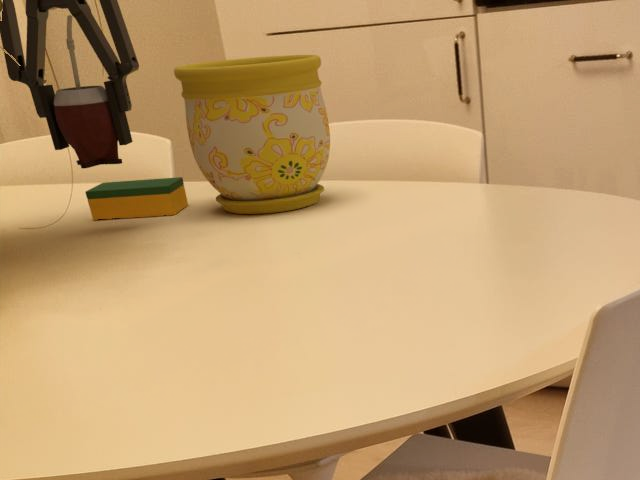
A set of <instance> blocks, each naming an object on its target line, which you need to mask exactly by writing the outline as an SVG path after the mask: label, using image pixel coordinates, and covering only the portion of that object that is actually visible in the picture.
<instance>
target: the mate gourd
mask: <svg viewBox="0 0 640 480" xmlns="http://www.w3.org/2000/svg"><path fill="white" fill-rule="evenodd" d="M65 42H66V48H67V50H68V51H69V52H68V53H69V57H70V58H69V59H70V64H71V69H72V74H73V79H74V86H75V87H67V88H60V89H57V90H56V91H55V97H54V103H53V104H54V113H55V118H56V121H57V124H58V127H59V129H60V131H61V133H62V134H63V136H64V138H65V139H66V141H67V142H68V143H69V147H71V148H72V149H73V150H74V152H75V154H76V157H77V159H78V160H77V159H76V164H77V166H80V168H81V169H90V168H93V167H97V166H101V165H122V164H123V158H119V141H118V137H117V133H116V129H115V125H114V121H113V117H112V113H111V109H110V106H109V102H108V98H107V94H106V90H105V86H103V85H87V86H86V85H85V86H81V81H80V75H79V70H78V64H77V58H76V53H75V50H76V47H75V40H74V39H73V16H72V15H71V14H68V15H67V17H66V39H65Z"/></svg>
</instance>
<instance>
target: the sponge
mask: <svg viewBox="0 0 640 480" xmlns="http://www.w3.org/2000/svg"><path fill="white" fill-rule="evenodd" d="M85 196H86V199H87V203H88V207H89V210H90V214H91V217H92V221H99V220H98V219H107V220H115V219H114V218H121V219H135V218H149V217H150V218H151V217H162V216H163V217H164V215H166V216H175V215H176V214H178V213H179V212H181V211H182V210H183V209H185V208H187V207H188V205H189V201H188V197H187V192H186V188H185V183H184V178H183V177H182V176H179V177H165V178H152V179H151V178H149V179H136V180H123V181H121V180H120V181H107V182H106V181H105V182H101V183H100V184H98V185H95V186H94V187H92V188H90V189H88V190H86V191H85ZM112 218H113V219H112Z"/></svg>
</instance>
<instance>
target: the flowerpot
mask: <svg viewBox="0 0 640 480" xmlns="http://www.w3.org/2000/svg"><path fill="white" fill-rule="evenodd" d="M321 65H322V59H321V57H320V56H319V55H318V54H317V55H316V54H290V55H289V54H287V55H286V54H285V55H271V56H258V57H257V56H255V57H245V58H234V59H224V60H223V59H222V60H214V61H213V60H212V61H206V62H197V63H190V64H184V65H178V66H176V67H174V69H173V75H174V77H175V78H176V79H177V80H178V81H180V83H181V88H182V92H181V94H180V95H181V97H182V98H183V101H184V109H185V121H186V128H187V135H188V141H189V145H190V148H191V151H192V154H193V158H194V161H195V163H196V165H197V166H198V168H199V170H200V172H201V174H202V175H203V177H204V178H205V179H206V181H207V182H208V183H209V185H211V186H212V188H214V189H215V190H216V191H217V192H218V193H219V194H218V195H217V196H216V197H215V201H216V203H219V204H221V205H222V207H223V209H224V210H225V211H226V212H228V213H232V214H238V215H260V214H261V215H263V214H273V213H282V212H289V211H294V210H299V209H303V208H307V207H310V206H312V205H314V204H316V203H318V201H319V200H320V196H321V193H323V192H324V191H325V186H324V185H323V184H320V183H319V182H320V181H321V179H322V178H323V175H324V174H325V172H326V168H327V165H328V163H329V159H330V151H331V132H330V124H329V117H328V113H327V109H326V105H325V101H324V97H323V94H322V89H321V86H322V80H320V78H319V72H318V70H319V68H321ZM306 206H307V207H306Z"/></svg>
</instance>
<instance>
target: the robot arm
mask: <svg viewBox="0 0 640 480" xmlns="http://www.w3.org/2000/svg"><path fill="white" fill-rule="evenodd" d="M98 1H99V4H100V7H101V10H102V12H103V16H104V18H105V21H106V24H107V27H108V30H109V33H110V36H111V38H112V41H113V44H114V47H115V50H116V52H115V51H114V49H113V48H112V46H111V44H110V43H109V41H108V39H107V37H106V36H105V34H104V32H103V30H102V29H101V27H100V25H99V24H98V22H97V20H96V18H95V16H94V14H93V12H92V8H91V7H90V5H89V3H88V2H87V0H25V16H26V42H25V43H26V45H25V46H26V47H25V49H26V50H25V55H24V50H23V42H22V39H21V33H20V28H19V27H20V26H19V22H18V17H17V11H16V6H15V2H14V0H3V11H2V21H0V40H1V45H2V50H3V49H5V50H6V51H7V52H8V53H9V54H10V55H12V56H13V57H14V58H15V59H16V61H17V62H18V63H19V64H20V65H21V66H19V65H18V64H17V63H16V62H15V61H14V60H13V59H12V58H11V57H10V56H9V55H8V54H6V53H5V52H4V51H3V55H4V60H5V67H6V71H7V75H8V78H9V79H10V80H11V81H12V82H19V83H21V84H24V85H26V86H27V87H28V89H29V91H30V94H31V98H32V101H33V105H34V109H35V112H36V114H37V116H38V118H39V119H44V118H45V120H46V123H47V127H48V130H49V134H50V137H51V141H52V145H53V149H54V151H61V150H64V149H67V148H70V145H69V143H68V142H67V141H66V139H65V138H64V136H63V134H62V133H61V131H60V129H59V127H58V124H57V121H56V118H55V113H54V104H53V103H54V97H55V94H56V92H55V90H54V86H53V84H47V79H45V75H46V74H45V71H46V49H47V48H46V45H47V43H46V41H47V23H48V18H49V14H50V13H49V12H50V11H53V10H56V9H62V10H63V9H67V10H68V11H69V13H70V15H71V16H72V18H74V19H75V21H76V22H77V24H78V26H79V27H80V29H81V31H82V32H83V34H84V36H85V38H86V40H87V41H88V43H89V44H90V46H91V48H92V50H93V52H94V53H95V55H96V57H97V59H98V60H99V62H100V64H101V65H102V67H103V69H104V70H105V72H106V74H107V75H108V76H107V77H106V78H107V79H108V80H106V81H103V85H104V86H103V87H104V88H105V90H106V94H107V98H108V102H109V106H110V109H111V113H112V117H113V121H114V125H115V129H116V133H117V137H118V146H127V145H129V144H131V143H133V138H132V133H131V130H130V129H131V128H130V124H129V121H128V116H127V113H126V112H130V111H132V107H133V105H132V104H133V103H132V100H131V96H130V92H129V88H128V84H127V78H128V77H129V75H131V74H133V73H134V72H137V71H139V68H140V64H139V61H138V58H137V55H136V52H135V51H136V50H135V48H134V46H133V43H132V40H131V36H130V34H129V31H128V27H127V25H126V22H125V19H124V16H123V14H122V11H121V10H122V9H121V8H120V4H119V2H118V0H98ZM116 54H117V55H116Z"/></svg>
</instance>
